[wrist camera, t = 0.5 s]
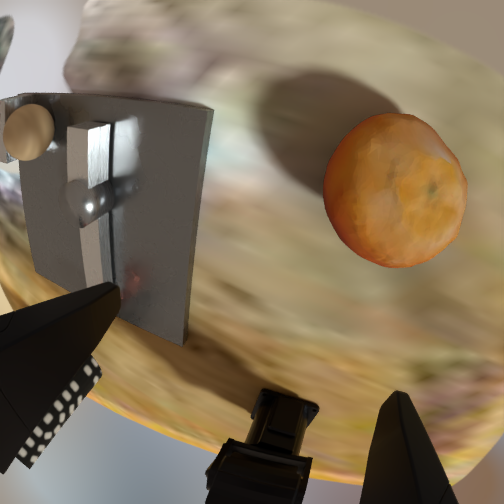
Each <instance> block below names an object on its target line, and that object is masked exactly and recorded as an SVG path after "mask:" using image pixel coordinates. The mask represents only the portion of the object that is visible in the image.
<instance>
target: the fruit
mask: <svg viewBox="0 0 504 504" xmlns="http://www.w3.org/2000/svg"><path fill="white" fill-rule="evenodd" d="M467 185H468V184H467V180H466V178H465V176H464V174H463V172H462V169H461V167H460V164H459V161H458V159H457V158H456V157H455V155H454V154H453V153H452V152H451V150H450V149H449V148H448V147H447V146H446V145H445V143H444V142H443V141H442V139H441V138H440V137H439V135H438V134H437V133H436V131H435V130H434V129H433V128H432V127H431V126H430V125H428V124H427V123H426V122H424V121H422V120H420V119H419V118H417V117H415V116H413V115H410V114H396V113H387V114H380V115H375V116H372V117H369V118H368V119H366V120H364V121H363V122H361V123H360V124H358V125H357V126H356V127H355V128H353V129H352V130H351V131H350V132H349V133H348V134H347V135H346V136H345V137H344V138H343V140H342V141H341V142H340V144H339V145H338V147H337V148H336V150H335V152H334V153H333V155H332V157H331V158H330V160H329V162H328V165H327V170H326V173H325V177H324V184H323V198H324V205H325V210H326V213H327V216H328V218H329V220H330V222H331V224H332V226H333V228H334V229H335V231H336V233H337V235H338V236H339V238H340V239H341V240H342V241H343V242H344V243H345V245H347V246H348V247H349V248H350V249H351V250H352V251H353V252H355V253H356V254H357V255H359V256H361V257H362V258H364V259H366V260H369V261H371V262H373V263H376V264H378V265H381V266H384V267H389V268H401V267H402V268H403V267H412V266H414V265H416V264H420V263H423V262H426V261H428V260H430V259H431V258H433V257H435V256H436V255H437V254H438V253H440V252H441V251H442V250H444V248H445V247H446V246H447V245H448V244H449V243H451V242H452V241H453V240H454V239H455V238H456V237H457V235H458V232H459V229H460V225H461V221H462V217H463V214H464V211H465V207H466V200H467Z"/></svg>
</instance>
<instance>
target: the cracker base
mask: <svg viewBox="0 0 504 504" xmlns="http://www.w3.org/2000/svg"><path fill="white" fill-rule="evenodd" d="M28 104H37V105H40V106H42V107H44V108H45V109H47V110H48V111H49V113H50V114H51V116H52V118H53V121H54V126H55V131H54V137H53V140H52V142H51V144H50V146H49V147H48V149H47V150H46V151H45V152H44V153H43V154H42V155H41V156H39V157H37V158H35V159H33V160H28V161H22V160H19V170H20V181H21V191H22V199H23V206H24V213H25V220H26V226H27V232H28V237H29V243H30V248H31V253H32V257H33V262H34V266H35V271H36V272H37V273H39V274H40V275H42V276H44V277H45V278H47V279H49V280H50V281H52V282H54V283H56V284H57V285H59V286H61V287H63V288H64V289H66V290H68V291H70V292H71V293H72V292H75V291H78V290H82V289H85V288H87V284H86V278H85V271H84V264H83V256H82V248H81V238H80V228H75V227H73V226H72V225H71V224H69V223H68V222H67V220H66V219H65V218H64V216H63V214H62V212H61V210H60V207H59V201H58V195H59V190H60V188H61V187H62V185H64V184H65V183H67V182H68V174H67V127H68V126H72V125H76V124H79V123H83V122H87V121H92V122H99V123H106V124H110V137H109V165H108V180H109V181H110V183H111V185H112V187H113V190H114V195H115V201H114V205H113V208H112V209H111V210H110V211H109V236H110V253H111V267H112V279H113V283H114V284H116V285H118V286H119V287H120V293H121V308H120V311H119V313H118V314H117V317H119V318H121V319H123V320H125V321H127V322H129V323H131V324H133V325H135V326H138V327H140V328H142V329H144V330H146V331H148V332H150V333H153V334H155V335H157V336H159V337H161V338H164V339H166V340H168V341H170V342H173V343H175V344H177V345H180V346H182V347H183V345H184V344H185V342H186V341H187V330H188V318H189V305H190V294H191V283H192V273H193V263H194V253H195V244H196V235H197V227H198V218H199V210H200V202H201V194H202V187H203V179H204V172H205V165H206V158H207V152H208V145H209V138H210V132H211V126H212V120H213V114H214V110H212V109H206V108H200V107H195V106H189V105H182V104H176V103H169V102H162V101H154V100H146V99H138V98H128V97H118V96H106V95H92V94H73V93H22V94H18V96H14V97H9V98H5V99H1V100H0V162H3V163H9V162H12V161H14V160H17V159H16V158H14V157H12V156H11V155H10V154H9V153H8V152H7V150H6V148H5V146H4V143H3V130H4V126H5V123H6V121H7V120H8V118H9V116H10V115H11V114H12V113H13V112H14V111H15V110H16V109H18V108H20V107H22V106H24V105H28Z"/></svg>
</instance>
